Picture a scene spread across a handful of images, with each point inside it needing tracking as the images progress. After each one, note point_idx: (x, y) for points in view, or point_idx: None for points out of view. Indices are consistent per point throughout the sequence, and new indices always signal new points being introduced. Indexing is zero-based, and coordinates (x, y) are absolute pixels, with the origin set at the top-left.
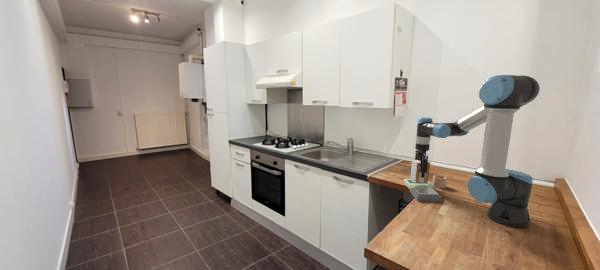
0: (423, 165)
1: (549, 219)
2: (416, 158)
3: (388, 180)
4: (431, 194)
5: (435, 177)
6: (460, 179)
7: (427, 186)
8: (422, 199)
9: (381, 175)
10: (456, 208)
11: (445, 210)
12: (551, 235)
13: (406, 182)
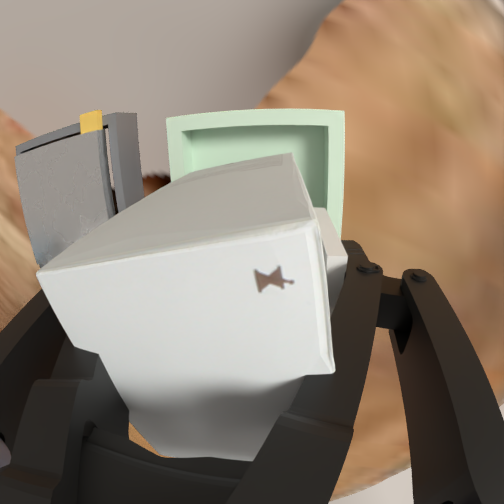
0: (17, 322)
1: None
2: (433, 385)
3: (362, 7)
4: (30, 225)
5: None
6: (373, 436)
7: None
8: None
9: (458, 11)
10: (37, 289)
11: (9, 240)
12: None
13: (262, 109)
